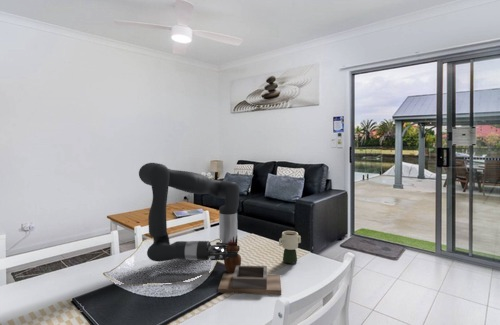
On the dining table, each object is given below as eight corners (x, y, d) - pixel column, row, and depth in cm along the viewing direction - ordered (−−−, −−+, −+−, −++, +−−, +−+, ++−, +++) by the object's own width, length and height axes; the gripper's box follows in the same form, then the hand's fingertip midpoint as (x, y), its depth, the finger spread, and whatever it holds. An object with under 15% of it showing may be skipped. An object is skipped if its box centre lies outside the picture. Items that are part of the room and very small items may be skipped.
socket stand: (223, 276, 112) (223, 264, 112) (279, 278, 111) (280, 265, 110) (218, 292, 100) (218, 278, 100) (281, 294, 99) (281, 280, 98)
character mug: (296, 257, 132) (296, 229, 131) (304, 263, 125) (305, 233, 124) (275, 261, 127) (275, 232, 127) (283, 267, 121) (283, 237, 120)
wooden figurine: (243, 270, 118) (243, 234, 117) (236, 276, 113) (236, 238, 112) (228, 267, 121) (228, 232, 120) (221, 272, 116) (221, 236, 115)
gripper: (193, 247, 110) (236, 248, 109) (201, 235, 124) (240, 236, 123) (193, 266, 110) (236, 267, 109) (202, 252, 125) (240, 253, 123)
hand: (238, 251), depth 116 cm, fingers open, 6 cm apart
